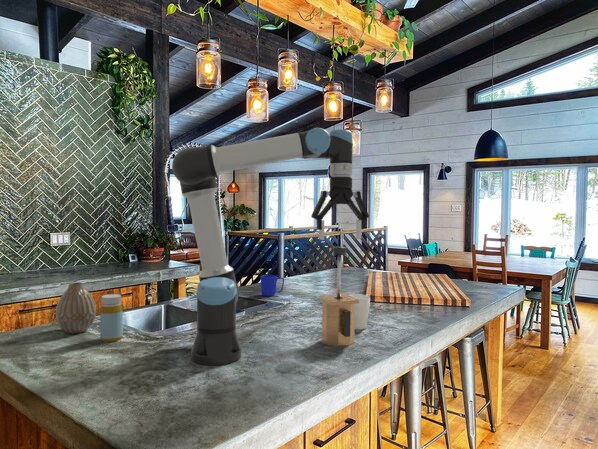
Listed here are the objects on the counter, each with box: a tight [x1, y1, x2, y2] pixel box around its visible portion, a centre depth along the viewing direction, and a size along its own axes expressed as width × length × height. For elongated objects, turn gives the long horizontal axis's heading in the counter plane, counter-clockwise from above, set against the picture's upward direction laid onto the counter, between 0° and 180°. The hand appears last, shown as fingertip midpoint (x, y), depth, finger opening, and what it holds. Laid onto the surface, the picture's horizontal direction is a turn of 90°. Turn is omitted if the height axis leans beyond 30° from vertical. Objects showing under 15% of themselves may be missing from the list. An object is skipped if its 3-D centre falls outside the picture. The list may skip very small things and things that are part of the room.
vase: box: [55, 281, 97, 334], centre depth 161 cm, size 13×13×18 cm
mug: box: [259, 274, 285, 297], centre depth 227 cm, size 8×12×10 cm
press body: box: [318, 293, 359, 347], centre depth 151 cm, size 10×13×15 cm
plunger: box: [332, 246, 347, 299], centre depth 152 cm, size 8×8×20 cm
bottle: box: [99, 293, 124, 343], centre depth 151 cm, size 7×7×15 cm
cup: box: [348, 293, 371, 331], centre depth 170 cm, size 9×9×12 cm
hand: (340, 239), depth 151 cm, fingers open, 13 cm apart
